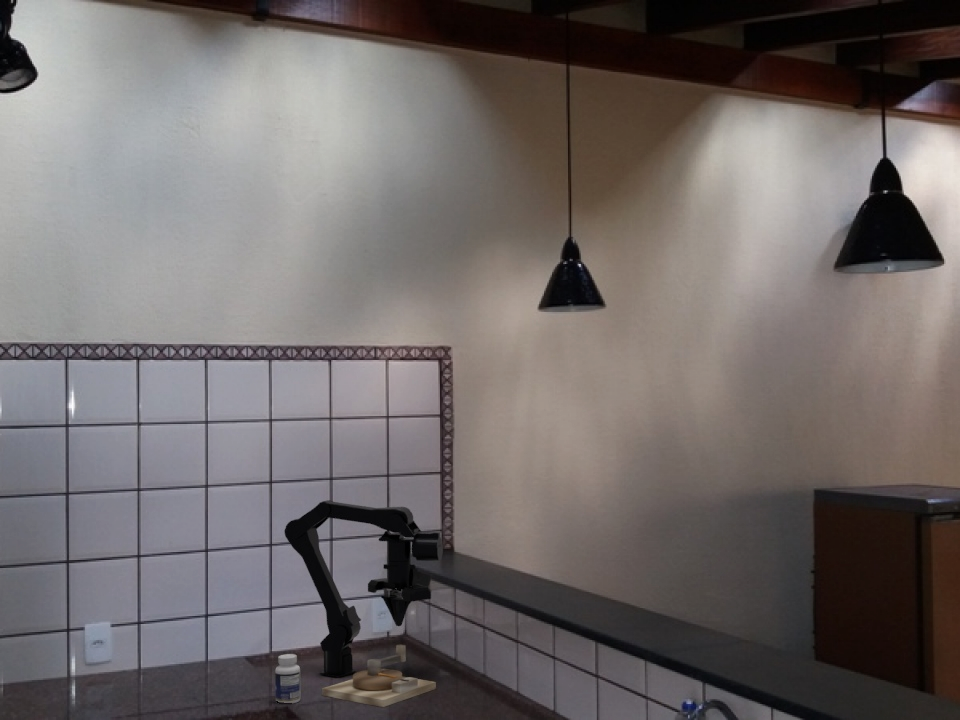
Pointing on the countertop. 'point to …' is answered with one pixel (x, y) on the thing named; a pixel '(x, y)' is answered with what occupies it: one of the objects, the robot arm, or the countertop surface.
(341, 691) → the stand
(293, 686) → the pill bottle
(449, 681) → the countertop surface
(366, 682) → the crank handle
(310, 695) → the countertop surface
